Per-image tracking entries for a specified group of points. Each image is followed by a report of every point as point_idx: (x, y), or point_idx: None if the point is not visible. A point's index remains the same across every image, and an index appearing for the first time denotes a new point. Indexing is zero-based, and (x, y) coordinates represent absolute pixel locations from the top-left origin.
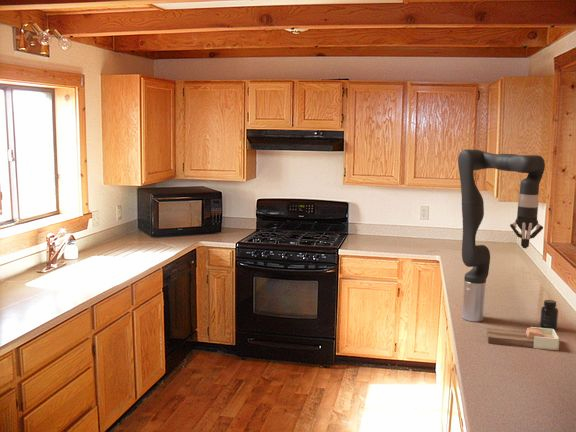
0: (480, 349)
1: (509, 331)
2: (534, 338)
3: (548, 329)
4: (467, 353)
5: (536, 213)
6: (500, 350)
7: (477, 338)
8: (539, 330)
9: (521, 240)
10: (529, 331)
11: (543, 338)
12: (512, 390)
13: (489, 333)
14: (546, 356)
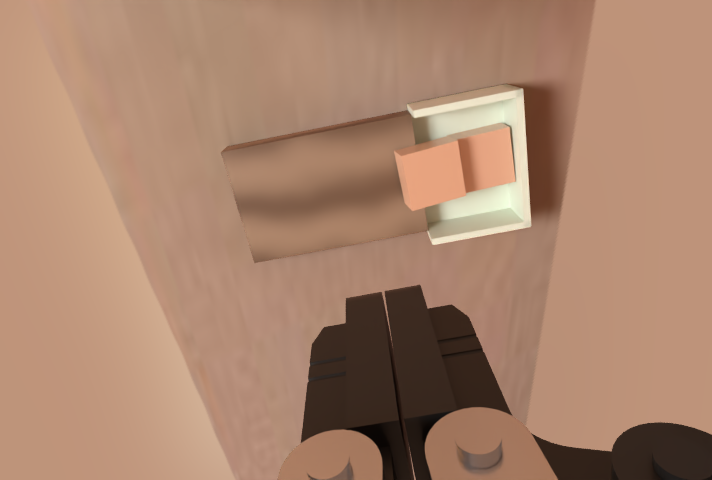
0: (248, 323)
1: (322, 149)
2: (431, 241)
3: (496, 100)
4: (219, 374)
5: None
6: (313, 302)
7: (209, 218)
8: (454, 145)
9: (311, 436)
10: (411, 208)
11: (467, 236)
12: None
13: (248, 218)
14: (467, 287)
